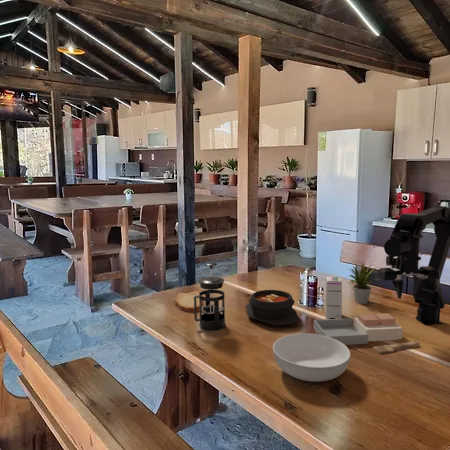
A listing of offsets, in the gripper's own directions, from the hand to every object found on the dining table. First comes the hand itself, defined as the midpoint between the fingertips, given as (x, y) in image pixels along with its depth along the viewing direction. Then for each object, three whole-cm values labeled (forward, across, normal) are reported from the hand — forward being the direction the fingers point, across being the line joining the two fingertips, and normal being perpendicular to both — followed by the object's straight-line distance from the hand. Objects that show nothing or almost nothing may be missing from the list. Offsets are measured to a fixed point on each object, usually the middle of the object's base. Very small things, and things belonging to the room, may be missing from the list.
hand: (406, 298), depth 138 cm
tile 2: (+8, +8, 0) cm, 11 cm away
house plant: (+12, +3, -30) cm, 33 cm away
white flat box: (+12, +10, 0) cm, 16 cm away
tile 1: (+8, +13, 0) cm, 15 cm away
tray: (+12, +22, 0) cm, 26 cm away
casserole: (+12, +42, -19) cm, 48 cm away
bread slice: (+13, +72, -38) cm, 82 cm away
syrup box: (+12, +19, -17) cm, 28 cm away
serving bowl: (+12, +39, +22) cm, 46 cm away
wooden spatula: (+12, +8, +11) cm, 18 cm away
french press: (+12, +65, -13) cm, 67 cm away
